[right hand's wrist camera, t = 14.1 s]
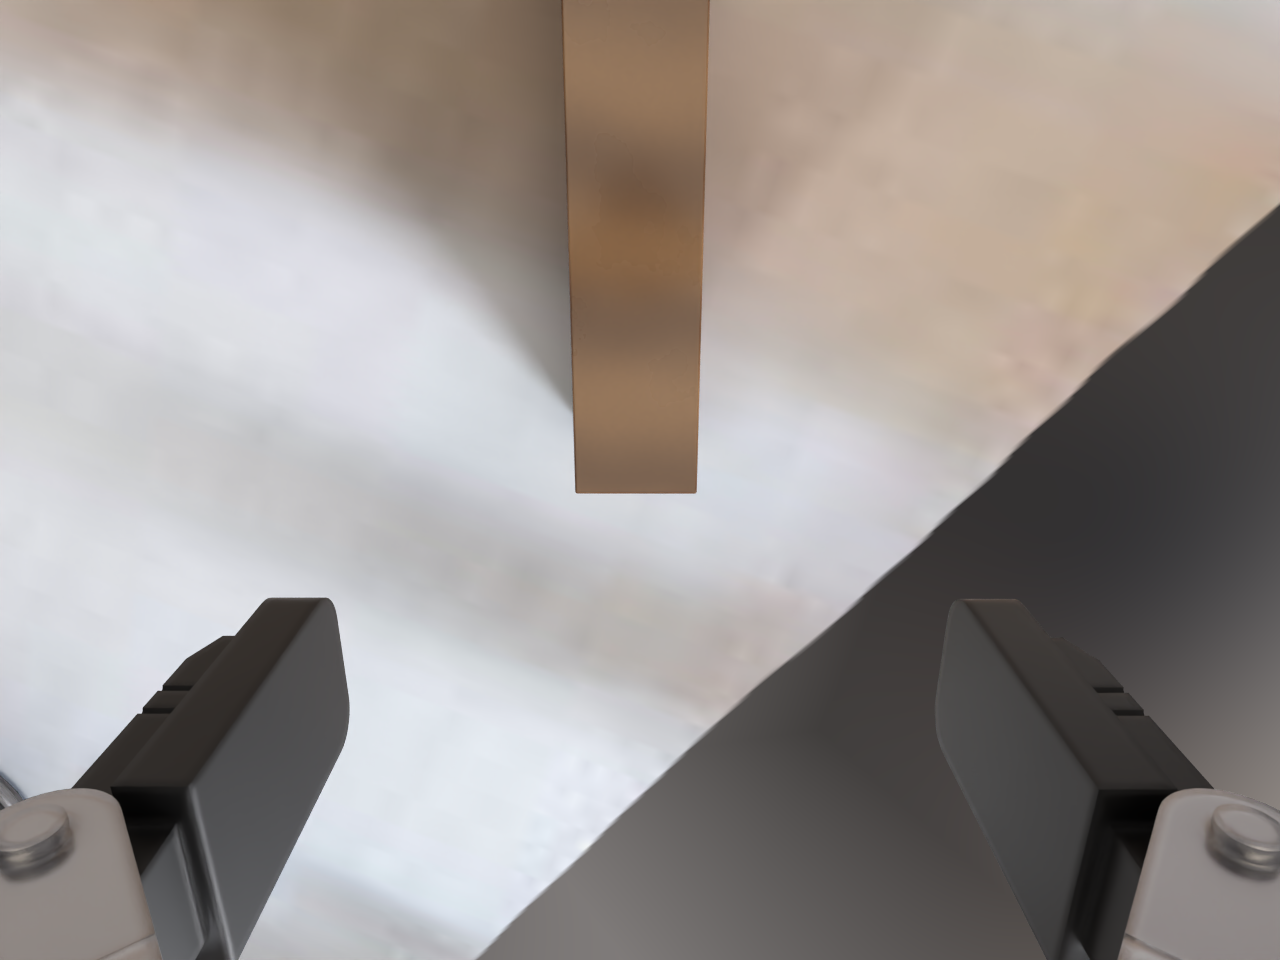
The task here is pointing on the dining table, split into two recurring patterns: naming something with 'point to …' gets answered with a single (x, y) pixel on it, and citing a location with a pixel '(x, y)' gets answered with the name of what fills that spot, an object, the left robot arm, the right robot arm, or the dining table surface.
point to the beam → (635, 238)
